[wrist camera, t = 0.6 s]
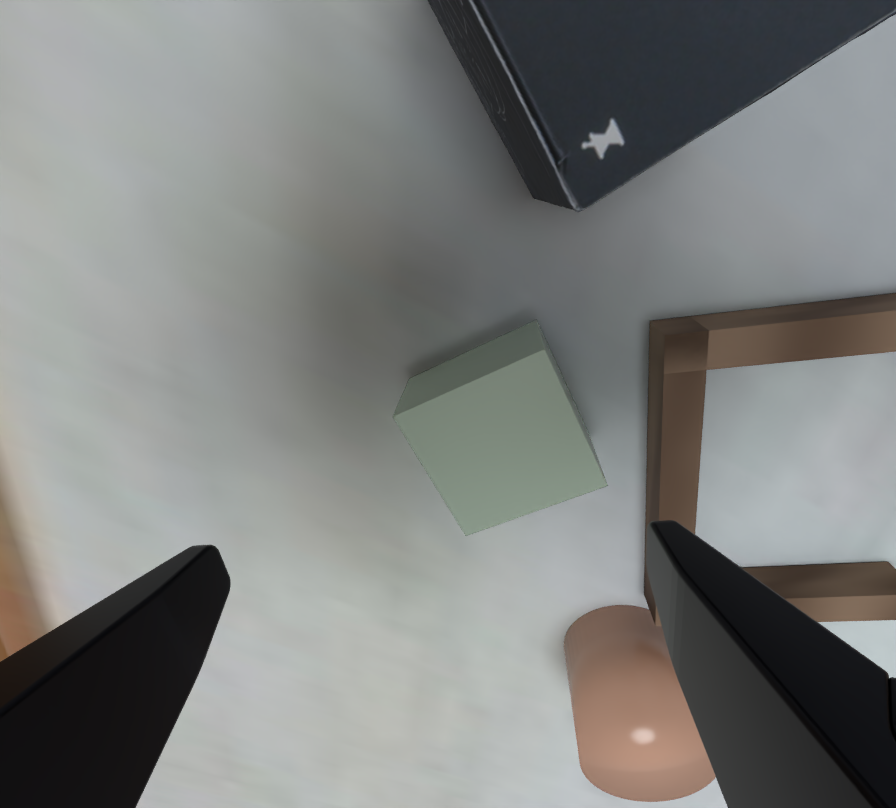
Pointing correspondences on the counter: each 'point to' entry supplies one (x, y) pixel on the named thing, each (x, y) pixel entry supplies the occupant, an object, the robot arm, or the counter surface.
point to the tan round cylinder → (631, 708)
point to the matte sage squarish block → (499, 431)
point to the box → (631, 75)
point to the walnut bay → (681, 419)
